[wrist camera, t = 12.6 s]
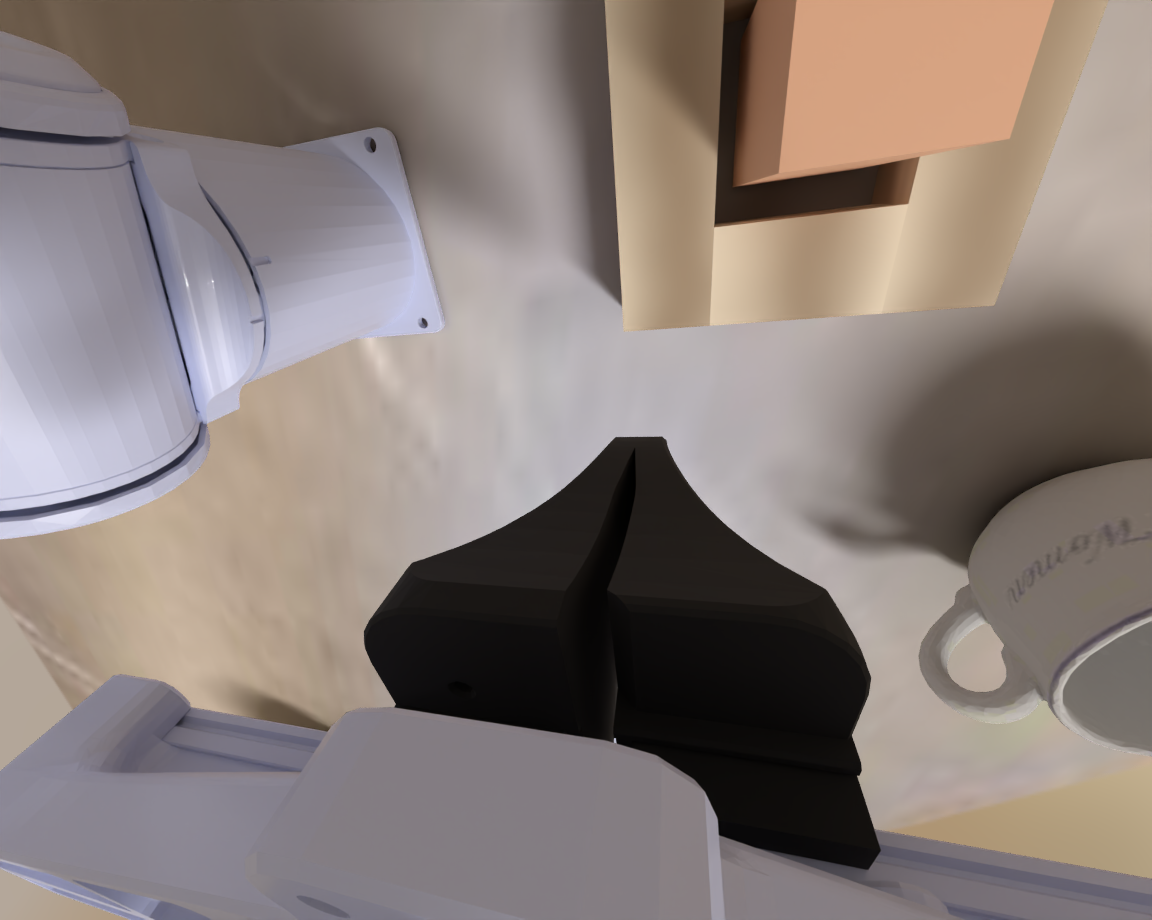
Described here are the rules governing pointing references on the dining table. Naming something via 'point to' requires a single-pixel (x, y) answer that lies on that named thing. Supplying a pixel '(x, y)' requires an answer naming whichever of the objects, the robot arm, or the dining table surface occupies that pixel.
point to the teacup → (1063, 608)
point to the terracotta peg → (878, 81)
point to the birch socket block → (805, 187)
